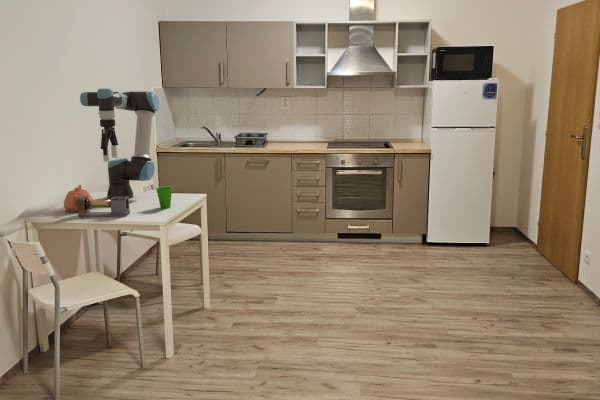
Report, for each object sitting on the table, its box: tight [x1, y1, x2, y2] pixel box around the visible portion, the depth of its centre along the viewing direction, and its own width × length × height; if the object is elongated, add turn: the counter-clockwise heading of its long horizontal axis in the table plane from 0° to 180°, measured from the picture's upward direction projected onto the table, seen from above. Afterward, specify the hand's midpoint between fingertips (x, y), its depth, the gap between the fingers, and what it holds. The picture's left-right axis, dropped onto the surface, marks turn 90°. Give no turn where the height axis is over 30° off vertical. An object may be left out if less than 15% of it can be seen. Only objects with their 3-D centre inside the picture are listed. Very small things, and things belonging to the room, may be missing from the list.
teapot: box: [63, 184, 94, 213], centre depth 297 cm, size 22×15×12 cm
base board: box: [81, 211, 129, 218], centre depth 284 cm, size 8×24×1 cm, turn 92°
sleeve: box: [109, 196, 131, 216], centre depth 284 cm, size 7×8×9 cm
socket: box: [77, 195, 91, 218], centre depth 283 cm, size 8×3×10 cm, turn 2°
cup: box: [155, 186, 174, 210], centre depth 300 cm, size 9×9×11 cm
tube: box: [84, 199, 111, 209], centre depth 283 cm, size 5×16×5 cm, turn 92°
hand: (110, 159), depth 288 cm, fingers open, 13 cm apart
